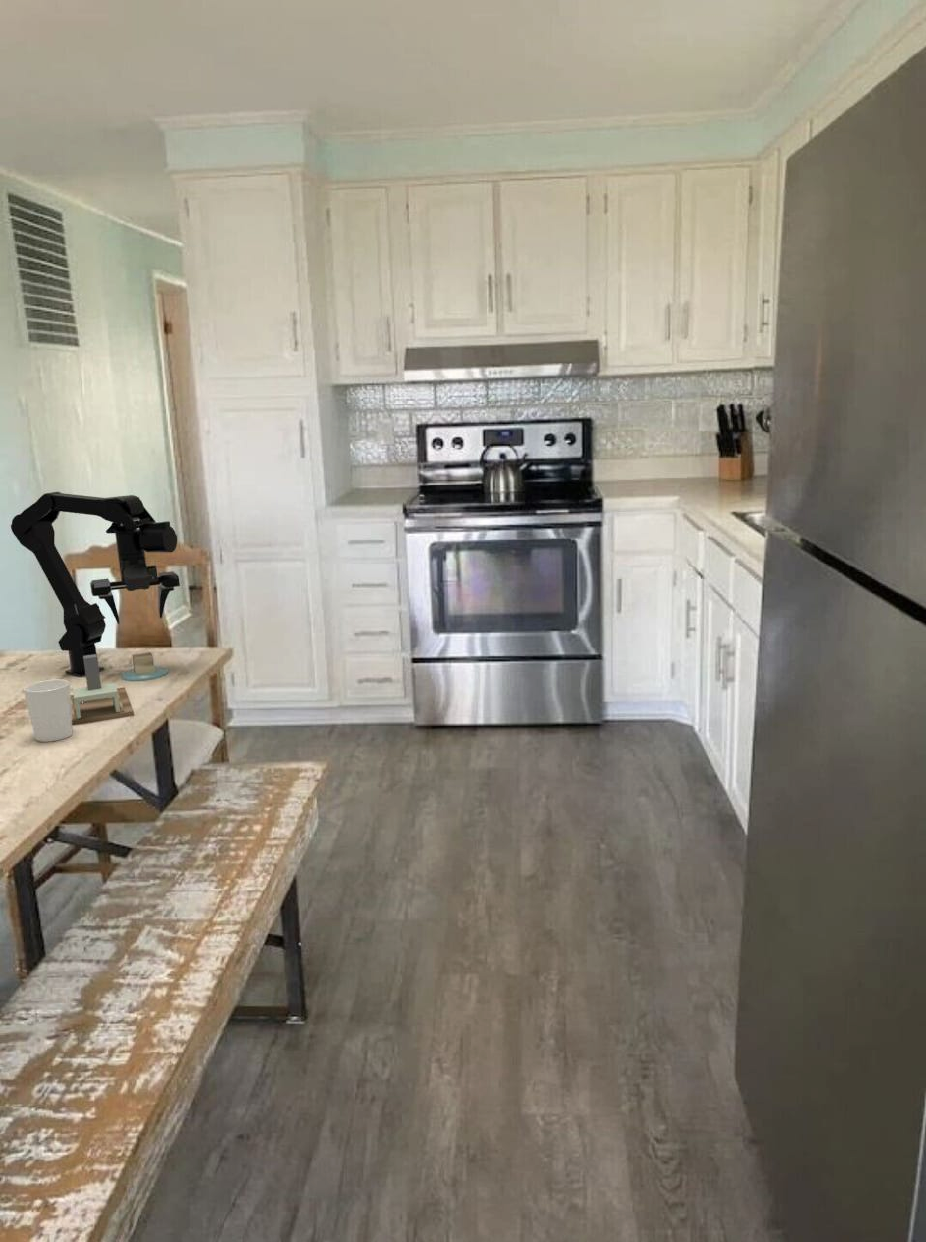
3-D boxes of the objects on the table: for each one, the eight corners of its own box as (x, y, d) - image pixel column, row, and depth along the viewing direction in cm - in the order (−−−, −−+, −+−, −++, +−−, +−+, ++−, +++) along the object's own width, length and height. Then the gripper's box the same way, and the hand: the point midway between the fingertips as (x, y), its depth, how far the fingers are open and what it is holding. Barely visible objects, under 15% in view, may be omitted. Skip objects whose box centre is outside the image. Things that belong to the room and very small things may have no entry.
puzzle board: (60, 701, 207) (59, 695, 207) (125, 691, 212) (124, 685, 212) (64, 727, 190) (63, 721, 190) (134, 716, 195) (133, 709, 195)
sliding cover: (75, 709, 197) (68, 657, 195) (117, 702, 200) (110, 652, 198) (77, 718, 191) (69, 665, 189) (120, 711, 194) (113, 659, 192)
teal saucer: (113, 677, 224) (112, 674, 224) (150, 667, 232) (149, 663, 231) (140, 683, 218) (139, 680, 218) (177, 672, 226) (176, 669, 225)
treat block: (134, 671, 225) (132, 654, 225) (152, 668, 227) (150, 651, 226) (136, 675, 222) (134, 658, 221) (154, 672, 223) (152, 655, 223)
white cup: (60, 744, 181) (53, 692, 179) (22, 742, 183) (14, 691, 181) (84, 729, 189) (77, 679, 186) (48, 728, 190) (40, 678, 188)
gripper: (89, 562, 209) (98, 633, 212) (179, 552, 216) (187, 622, 220) (86, 555, 219) (95, 623, 222) (172, 546, 226) (179, 613, 230)
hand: (139, 620), depth 223 cm, fingers open, 9 cm apart
